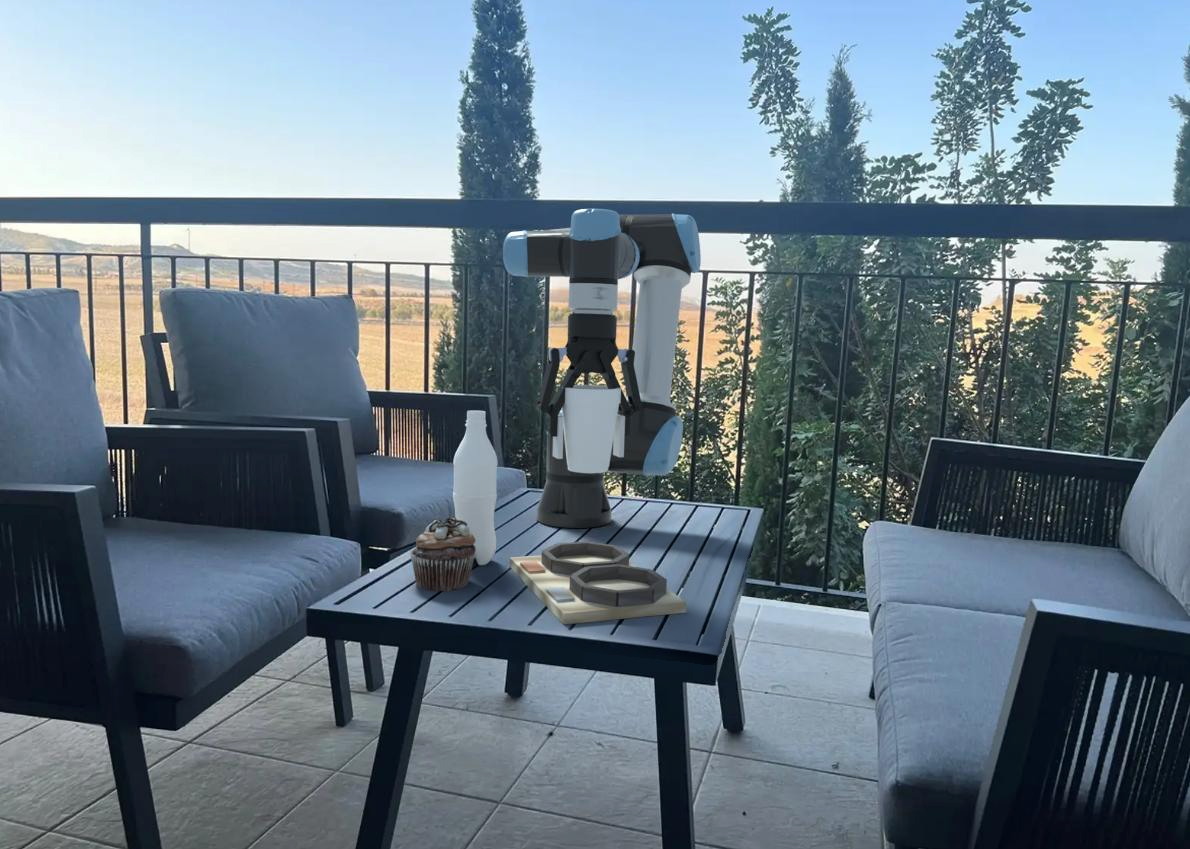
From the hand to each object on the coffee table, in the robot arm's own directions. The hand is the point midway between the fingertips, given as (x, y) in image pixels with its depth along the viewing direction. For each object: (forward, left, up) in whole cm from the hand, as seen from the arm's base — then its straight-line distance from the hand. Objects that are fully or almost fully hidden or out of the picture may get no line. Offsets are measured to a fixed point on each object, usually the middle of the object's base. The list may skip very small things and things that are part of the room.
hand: (588, 456), depth 134 cm
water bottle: (-11, -16, -19) cm, 27 cm away
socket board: (+7, -2, -19) cm, 20 cm away
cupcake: (-1, -23, -19) cm, 30 cm away
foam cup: (0, 0, -2) cm, 2 cm away
